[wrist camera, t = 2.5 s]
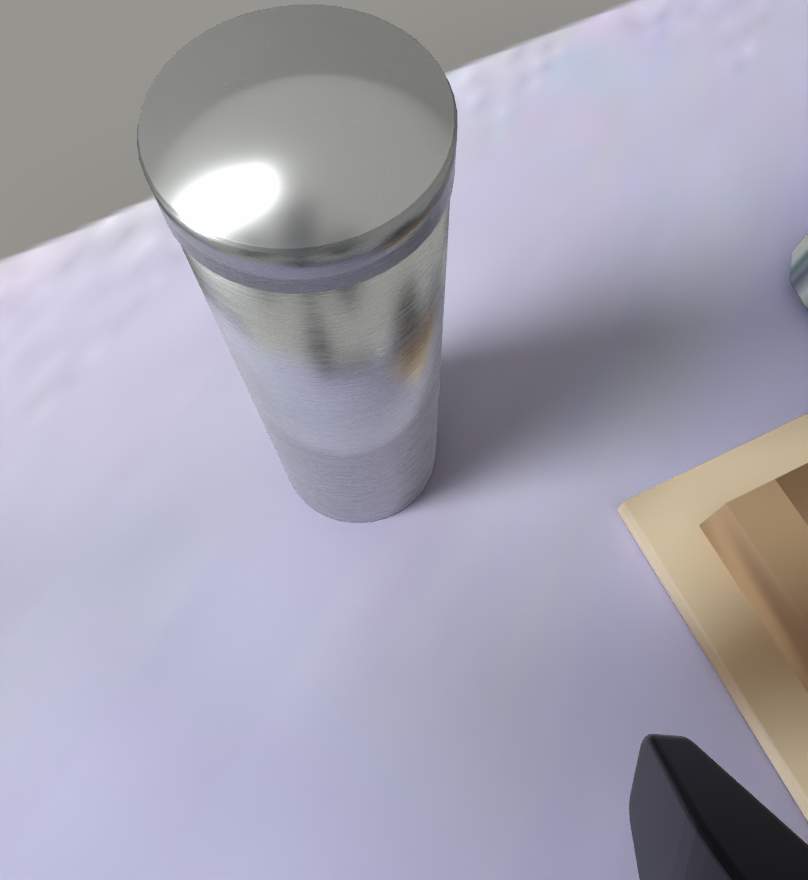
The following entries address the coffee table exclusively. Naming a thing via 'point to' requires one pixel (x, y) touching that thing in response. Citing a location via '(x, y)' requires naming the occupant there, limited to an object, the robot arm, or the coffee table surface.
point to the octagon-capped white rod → (800, 270)
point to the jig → (743, 580)
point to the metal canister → (317, 235)
